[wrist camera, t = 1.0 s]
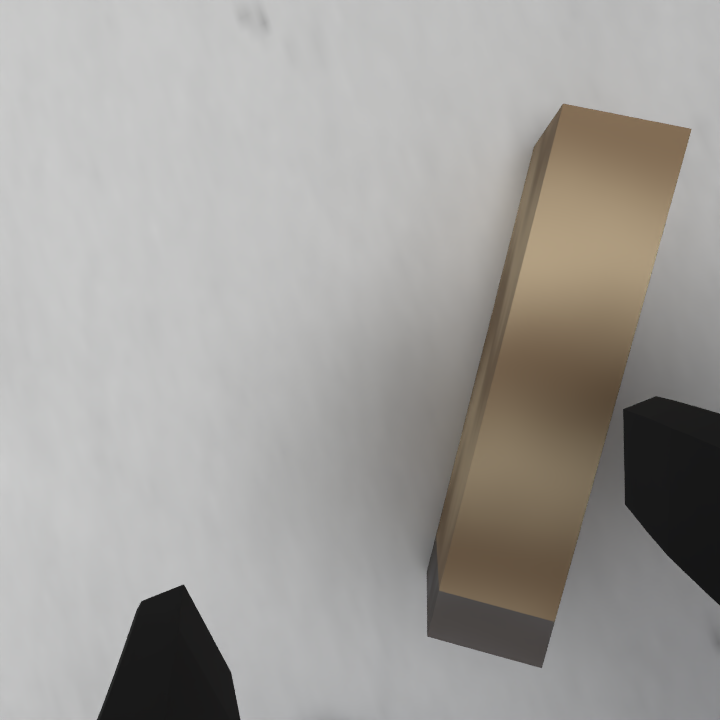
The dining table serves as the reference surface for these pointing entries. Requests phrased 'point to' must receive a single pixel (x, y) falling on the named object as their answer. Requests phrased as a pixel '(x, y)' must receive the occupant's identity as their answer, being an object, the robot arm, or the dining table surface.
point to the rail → (549, 378)
